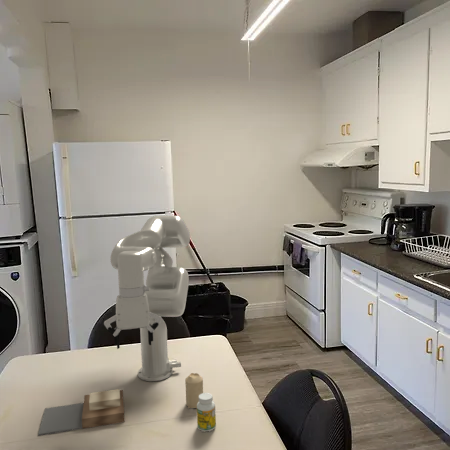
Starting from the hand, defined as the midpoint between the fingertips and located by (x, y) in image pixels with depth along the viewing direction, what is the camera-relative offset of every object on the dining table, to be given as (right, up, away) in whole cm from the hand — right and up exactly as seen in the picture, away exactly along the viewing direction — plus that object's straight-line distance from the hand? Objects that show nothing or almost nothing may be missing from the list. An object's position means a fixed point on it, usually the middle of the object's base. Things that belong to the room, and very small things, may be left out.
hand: (134, 345), depth 135 cm
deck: (-9, -21, 0) cm, 23 cm away
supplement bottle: (+23, -22, -9) cm, 33 cm away
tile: (-9, -17, 0) cm, 19 cm away
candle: (+19, -20, +4) cm, 28 cm away
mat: (-21, -22, -3) cm, 30 cm away
